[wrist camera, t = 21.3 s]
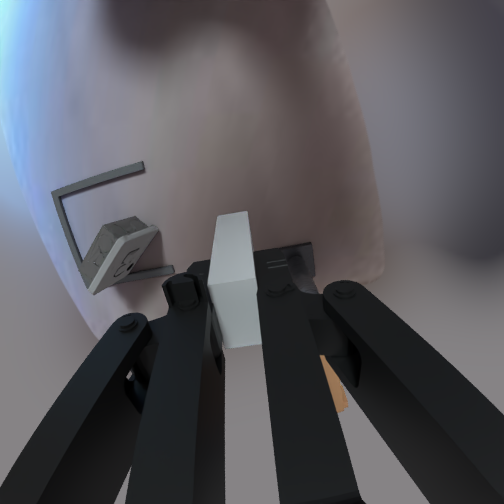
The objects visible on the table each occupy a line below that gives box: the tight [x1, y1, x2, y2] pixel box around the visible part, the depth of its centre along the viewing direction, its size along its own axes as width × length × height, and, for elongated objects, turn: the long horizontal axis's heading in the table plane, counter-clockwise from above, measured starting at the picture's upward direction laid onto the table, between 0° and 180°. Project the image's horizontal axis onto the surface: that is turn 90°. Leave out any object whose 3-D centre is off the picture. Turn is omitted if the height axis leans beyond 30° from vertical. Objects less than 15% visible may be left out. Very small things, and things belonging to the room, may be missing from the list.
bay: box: [51, 161, 175, 289], centre depth 40 cm, size 16×15×1 cm
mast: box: [277, 242, 319, 294], centre depth 37 cm, size 5×5×14 cm
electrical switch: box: [78, 216, 158, 295], centre depth 37 cm, size 9×5×9 cm, turn 140°
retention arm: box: [320, 355, 348, 413], centre depth 33 cm, size 17×4×4 cm, turn 16°
